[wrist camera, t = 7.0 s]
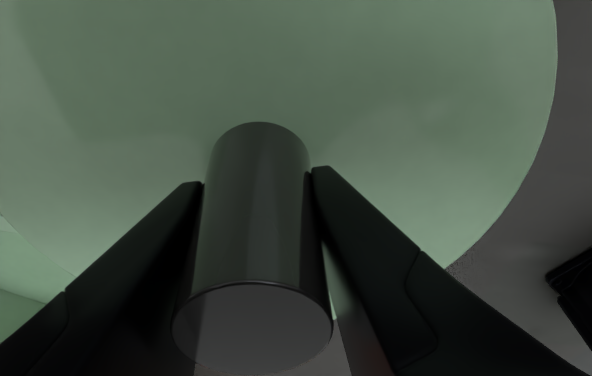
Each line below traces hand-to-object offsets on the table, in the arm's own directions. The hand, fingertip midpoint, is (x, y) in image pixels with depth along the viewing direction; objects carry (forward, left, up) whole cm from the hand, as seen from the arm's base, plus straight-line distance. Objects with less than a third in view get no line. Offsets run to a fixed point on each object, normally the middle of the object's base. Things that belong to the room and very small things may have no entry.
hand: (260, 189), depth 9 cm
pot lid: (0, 0, -1) cm, 1 cm away
